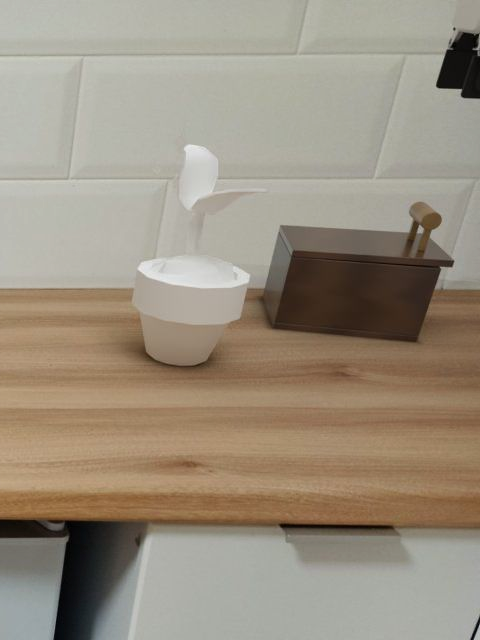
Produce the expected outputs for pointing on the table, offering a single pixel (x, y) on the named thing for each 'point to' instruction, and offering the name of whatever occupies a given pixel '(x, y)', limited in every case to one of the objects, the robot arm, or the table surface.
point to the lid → (372, 242)
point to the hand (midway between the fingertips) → (463, 93)
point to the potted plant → (191, 273)
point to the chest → (348, 296)
